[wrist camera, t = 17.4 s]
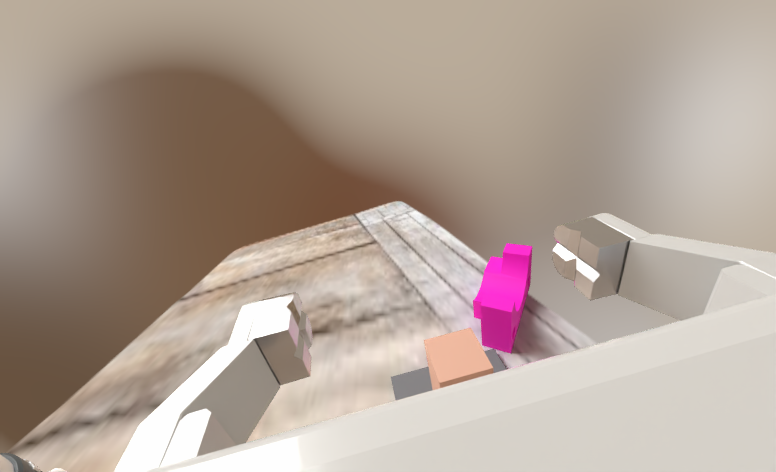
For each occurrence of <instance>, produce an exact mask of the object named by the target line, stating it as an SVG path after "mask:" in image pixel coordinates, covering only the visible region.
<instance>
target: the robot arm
mask: <svg viewBox="0 0 776 472" xmlns="http://www.w3.org/2000/svg"><path fill="white" fill-rule="evenodd" d="M554 239H555V240H556V241H557V243H558V244H557V245H556V246H555V248H554V249H553V256H552V259H553V263H554V266H555V268H556V269H557V271H558V272H559V274H560V275H562V276H563V277H564V278H566V279H569V280H572V281H574V287H576V289H578V290H579V291H580V292H581V293H582V294H583V295H584V296H586V297H587V298H588V299H589V300H594V299H598V298H602V297H607V296H611V295H615V294H618V295H619V296H621V297H624V298H626V299H629V300H631V301H634V302H636V303H638V304H641V305H643V306H646V307H649V308H651V309H653V310H656V311H658V312H661V313H663V314H665V315H668V316H671V317H673V318H675V319H678V320H680V321H678V322H674V323H671V324H667V325H664V326H661V327H657V328H653V329H650V330H646V331H643V332H639V333H635V334H632V335H629V336H625V337H621V338H617V339H614V340H610V341H607V342H603V343H599V344H596V345H592V346H589V347H585V348H582V349H578V350H574V351H571V352H567V353H564V354H560V355H557V356H553V357H549V358H546V359H542V360H539V361H535V362H532V363H528V364H525V365H521V366H517V367H514V368H510V369H507V370H503V371H500V372H496V373H493V374H489V375H485V376H482V377H478V378H475V379H471V380H468V381H464V382H460V383H457V384H453V385H450V386H446V387H443V388H439V389H436V390H432V391H428V392H425V393H421V394H418V395H414V396H411V397H407V398H404V399H400V400H396V401H393V402H389V403H386V404H382V405H379V406H375V407H371V408H368V409H364V410H361V411H357V412H354V413H350V414H347V415H343V416H339V417H336V418H332V419H329V420H325V421H322V422H318V423H315V424H311V425H307V426H304V427H300V428H297V429H293V430H290V431H286V432H282V433H279V434H275V435H272V436H268V437H265V438H261V439H258V440H254V441H250V442H247V443H246V441H247V440H248V438H249V436H250V435H251V433H252V432H253V430H254V428H255V427H256V425H257V424H258V422H259V420H260V419H261V417H262V416H263V414H264V412H265V411H266V409H267V408H268V406H269V404H270V403H271V401H272V400H273V398H274V396H275V395H276V393H277V392H278V390H279V388H280V385H283V384H286V383H290V382H293V381H296V380H300V379H303V378H306V377H310V371H311V355H310V353H309V350H308V349H309V348H310V347H311V345H312V330H311V325H310V321H309V318H308V316H307V314H306V313H304V312H303V311H301V307H302V302H301V299H300V297H299V295H298V294H297V293H296V292H293V293H289V294H285V295H280V296H276V297H272V298H267V299H263V300H259V301H255V302H251V303H247V304H245V305H243V306H242V308H241V310H240V313H239V316H238V319H237V321H236V324H235V327H234V329H233V332H232V335H231V337H230V340H229V343H228V345H227V346H225V347H222V348H221V349H219V350H218V351H217V352H216V353H215V354H214V355H213V356H212V357H211V358H210V359H209V360H208V361H207V362H206V363H205V364H204V365H202V366H201V367H200V368H199V369H198V370H197V371H196V372H195V373H194V374H193V375H192V376H191V377H190V378H189V379H188V380H187V381H186V382H184V383H183V384H182V385H181V386H180V387H179V388H178V389H177V390H176V391H175V392H174V393H173V394H172V395H171V396H170V397H169V398H167V399H166V400H165V401H164V402H163V403H162V404H161V405H160V406H159V407H158V408H157V409H156V410H155V411H154V412H153V413H152V414H150V415H149V416H148V417H147V418H146V419H145V420H144V421H143V422H142V423H141V424H140V425H139V426H138V428H137V430H136V432H135V434H134V435H133V437H132V439H131V441H130V443H129V445H128V447H127V448H126V450H125V452H124V454H123V456H122V458H121V460H120V462H119V463H118V465H117V467H116V469H115V471H114V472H776V253H771V252H765V251H759V250H752V249H747V248H741V247H735V246H728V245H722V244H716V243H710V242H704V241H698V240H692V239H686V238H680V237H674V236H668V235H662V234H655V235H651V234H649V233H647V232H645V231H643V230H641V229H639V228H637V227H635V226H633V225H631V224H629V223H627V222H625V221H623V220H621V219H619V218H617V217H615V216H613V215H611V214H608V213H602V214H598V215H595V216H591V217H589V218H586V219H582V220H578V221H574V222H571V223H567V224H563V225H559V226H557V227H556V229H555V232H554ZM0 472H42V471H41V470H40V469H39V468H38V466H36V465H35V464H33V463H32V462H30V461H28V460H26V459H22V458H19V457H18V456H16V455H14V454H9V453H0ZM48 472H68V471H66V470H64V469H60V468H55V469H53V470H52V471H48Z"/></svg>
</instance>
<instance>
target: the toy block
mask: <svg viewBox="0 0 776 472" xmlns="http://www.w3.org/2000/svg"><path fill="white" fill-rule="evenodd" d="M531 259H532V246H525V245H516V244H508V243H507V244H506V247H505V249H504V251H503V258H498V257H491V258H490V261H489V262H488V264H487V266H486V269H485V271H484V276H483V280H482V284H481V287H480V290H479V293H478V295H477V297H476V298H475V299H474V300H473V306H474V317H475V318H479V319H481V331H482V345H483V346H487V347H490V348H494V349H497V350H501V351H504V352H508V353H511V351H512V348H513V344H514V340H515V337H516V333H517V330H518V326H519V322H520V319H521V315H522V312H523V308H524V304H525V301H526V297H527V293H528V291H529V287H530V279H531Z"/></svg>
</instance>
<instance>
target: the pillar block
mask: <svg viewBox="0 0 776 472" xmlns="http://www.w3.org/2000/svg"><path fill="white" fill-rule="evenodd" d="M424 344H425V349H426V355H427V361H428V366H429V372H430V378H431V383H432V389H433V390H436V389H439V388H443V387H446V386H450V385H453V384H457V383H460V382H464V381H468V380H471V379H475V378H478V377H482V376H485V375H489V374H493V366H492V365H491V363H490V361H489V359H488V357H487V356H486V354H485V352H484V350H483V349H482V347H481V345H480V343H479V341H478V340H477V338H476V336H475V334H474V333H473V331H472V329H471V328H468V329H464V330H460V331H456V332H453V333H449V334H445V335H442V336H438V337H434V338H431V339H427V340H424Z"/></svg>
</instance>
